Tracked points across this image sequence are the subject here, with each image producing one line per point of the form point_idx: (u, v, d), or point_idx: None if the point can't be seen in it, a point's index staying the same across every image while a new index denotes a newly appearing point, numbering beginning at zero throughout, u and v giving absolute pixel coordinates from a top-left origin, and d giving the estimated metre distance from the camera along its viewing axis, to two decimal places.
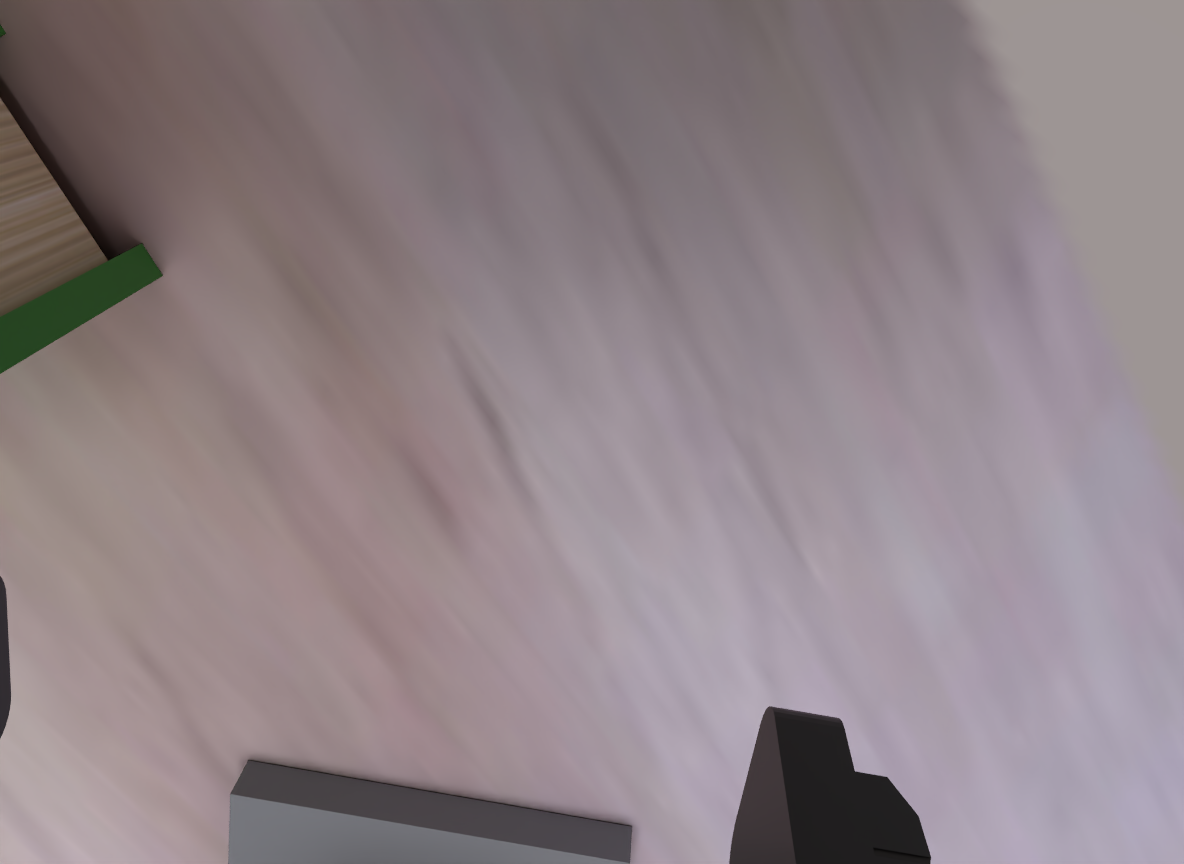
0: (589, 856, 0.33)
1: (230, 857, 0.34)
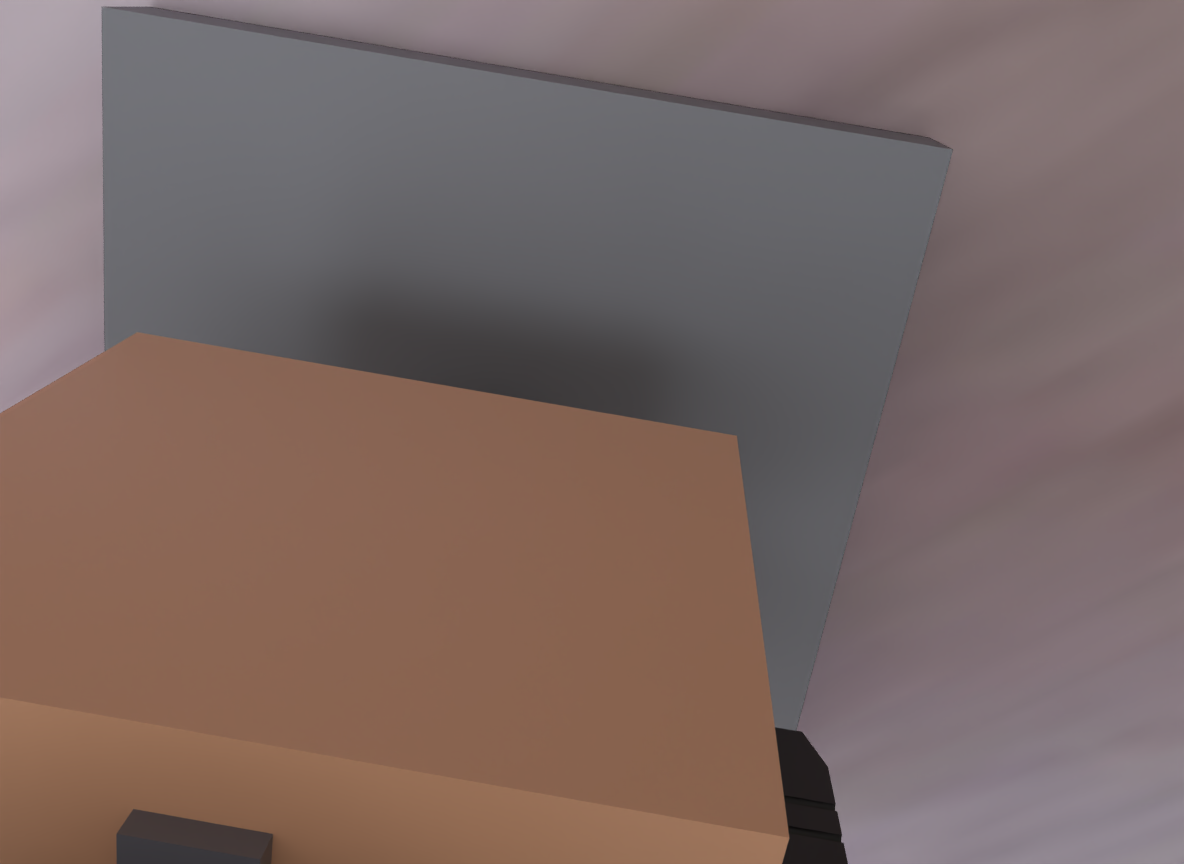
0: None
1: (774, 123, 0.15)
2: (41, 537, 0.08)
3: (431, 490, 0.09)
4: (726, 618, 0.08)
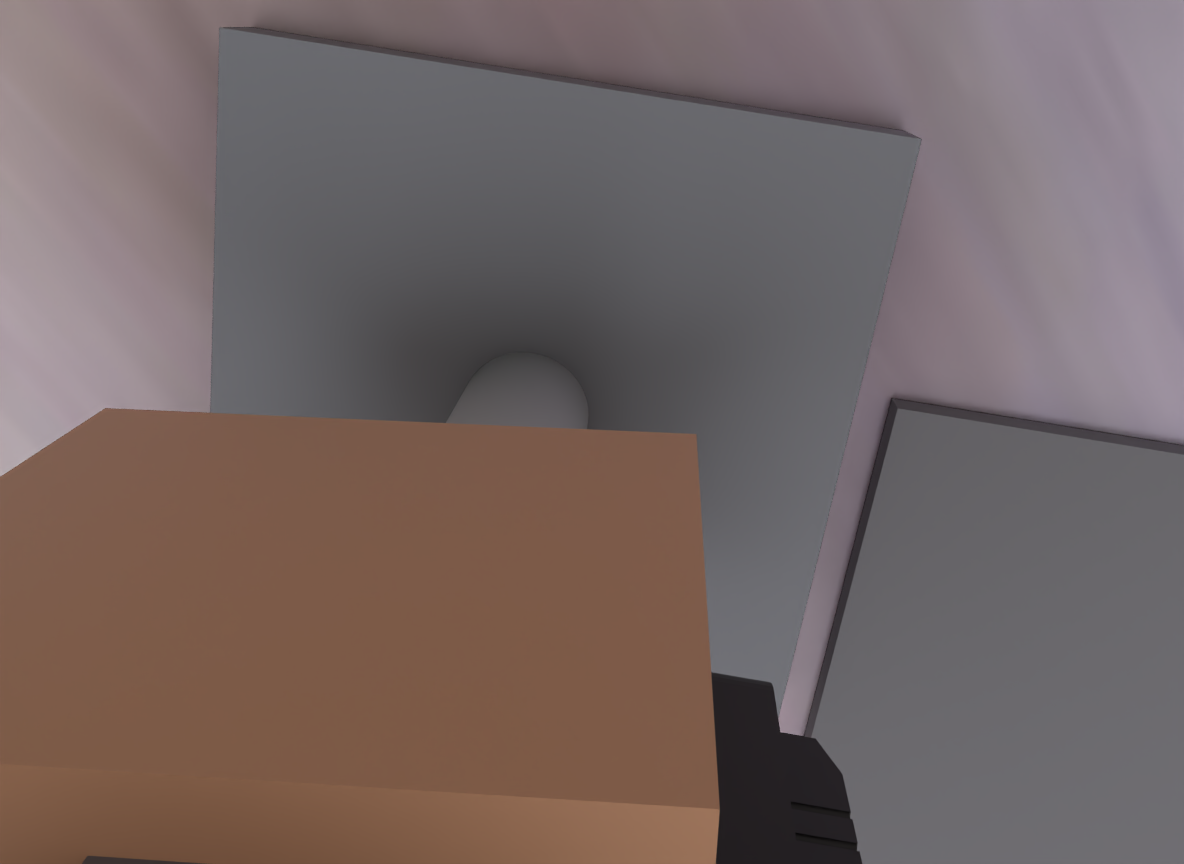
0: (850, 128, 0.18)
1: (219, 176, 0.20)
2: None
3: (384, 521, 0.09)
4: (672, 608, 0.08)
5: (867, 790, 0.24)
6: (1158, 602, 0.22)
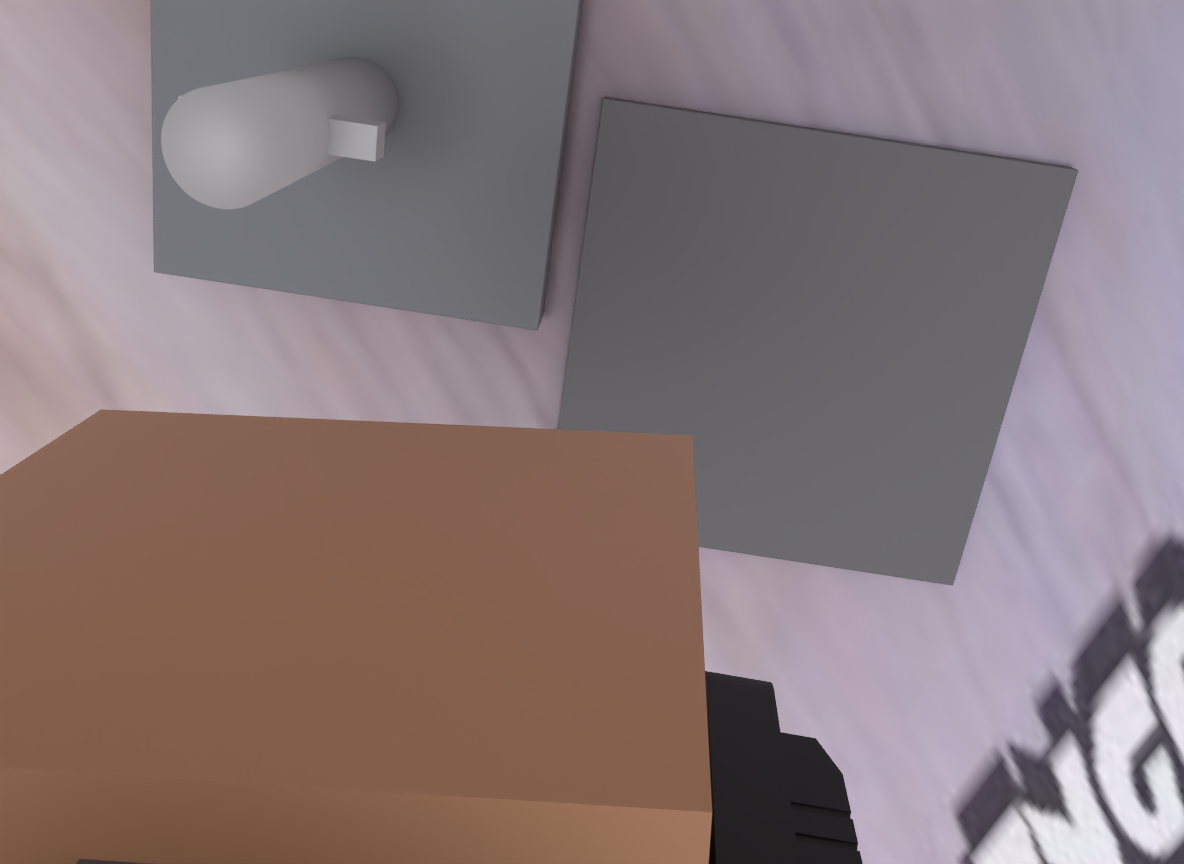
0: None
1: None
2: None
3: (379, 523, 0.09)
4: (666, 609, 0.08)
5: (610, 386, 0.35)
6: (786, 235, 0.33)
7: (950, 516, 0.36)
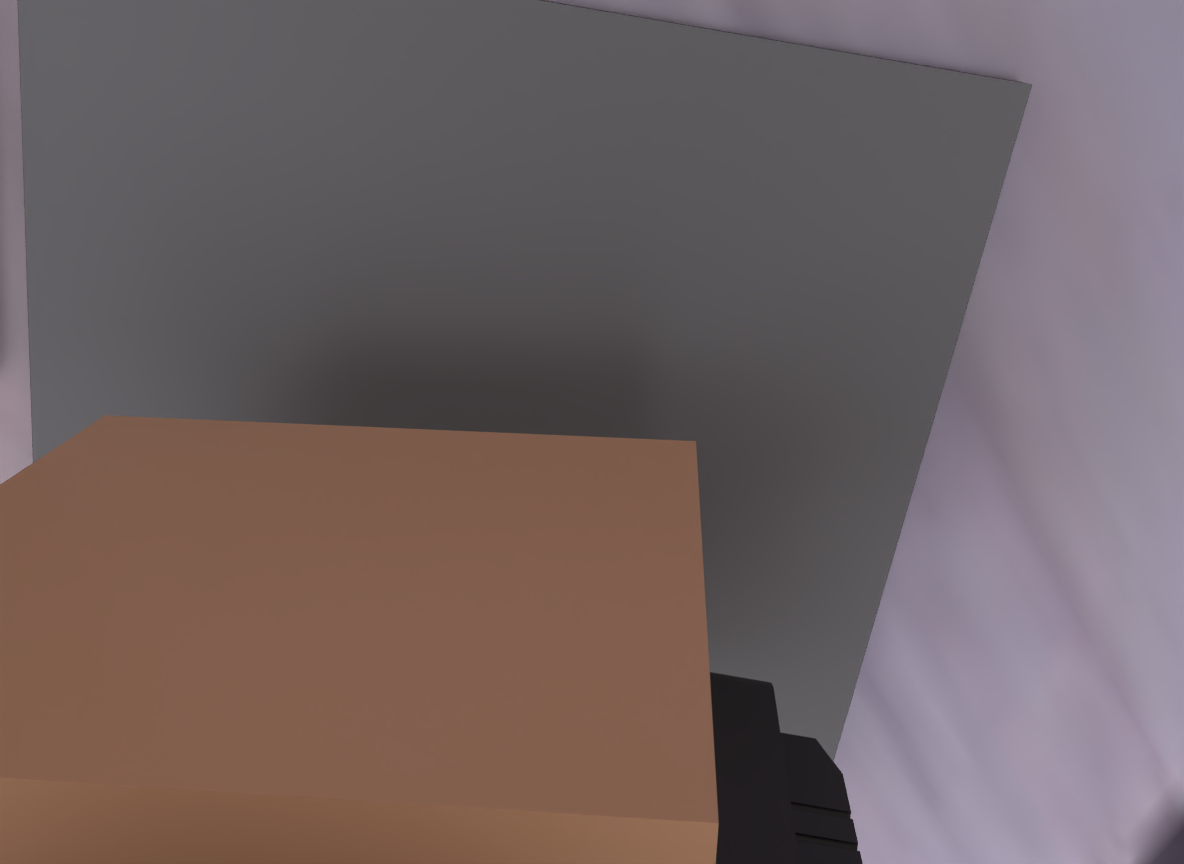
0: None
1: None
2: None
3: (383, 529, 0.09)
4: (671, 618, 0.08)
5: None
6: (431, 215, 0.16)
7: None
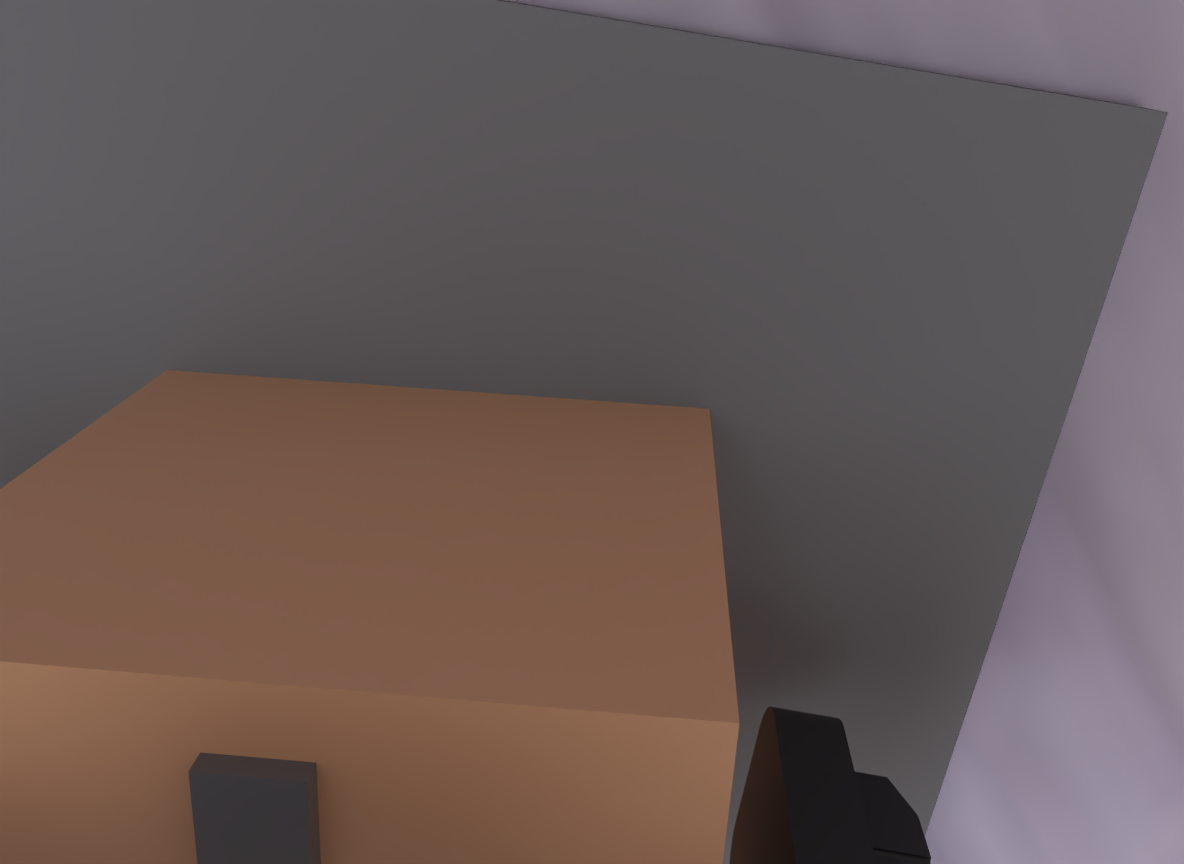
0: None
1: None
2: (102, 545, 0.09)
3: (434, 479, 0.10)
4: (693, 560, 0.09)
5: None
6: (376, 281, 0.12)
7: None
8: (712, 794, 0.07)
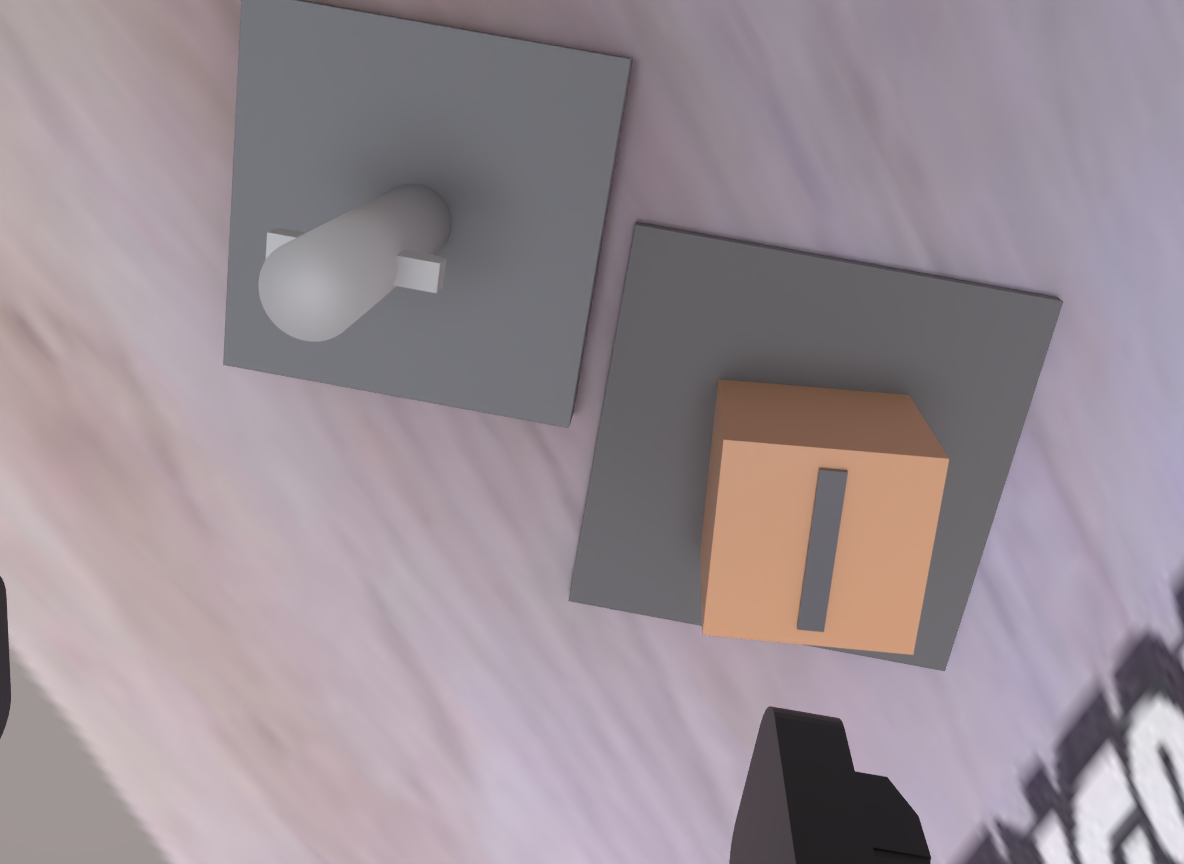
0: (591, 52, 0.33)
1: (239, 76, 0.34)
2: (767, 424, 0.33)
3: (837, 412, 0.35)
4: (924, 432, 0.33)
5: (633, 478, 0.39)
6: (797, 350, 0.37)
7: (943, 607, 0.39)
8: (941, 477, 0.31)
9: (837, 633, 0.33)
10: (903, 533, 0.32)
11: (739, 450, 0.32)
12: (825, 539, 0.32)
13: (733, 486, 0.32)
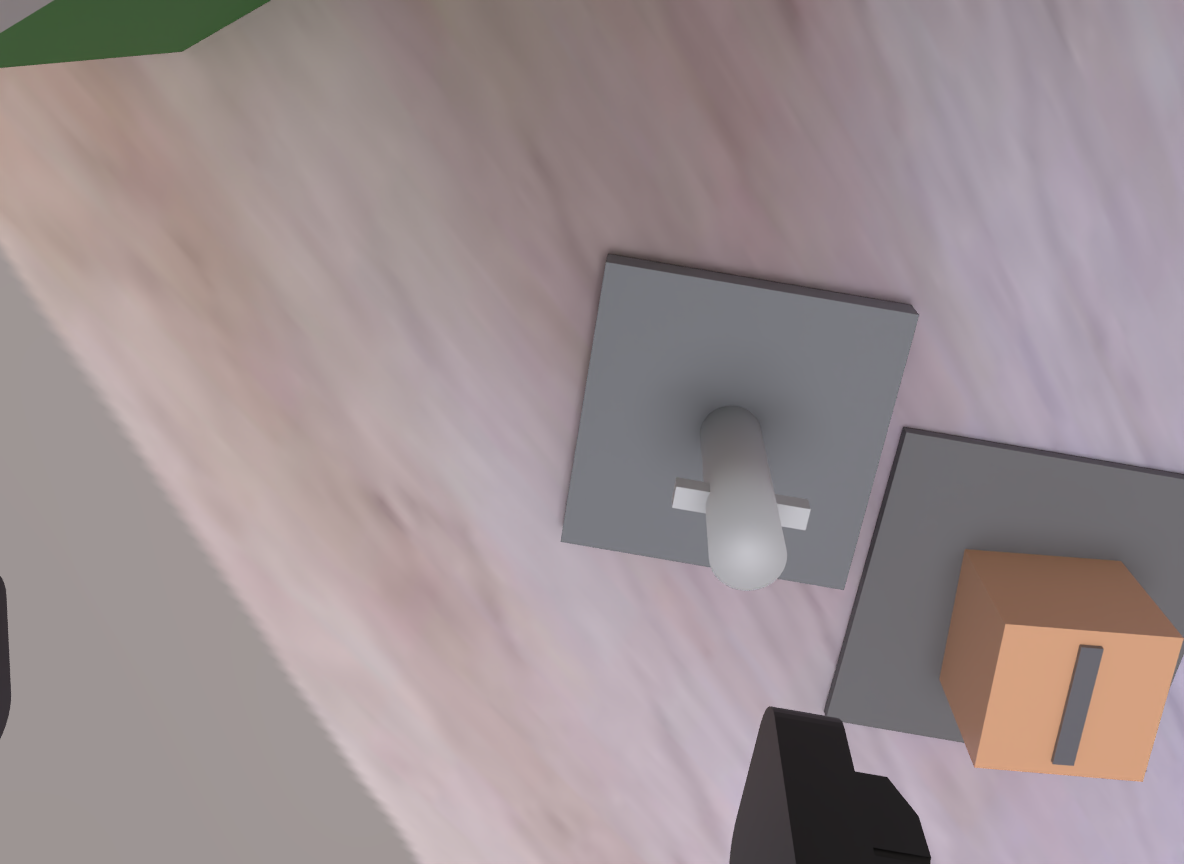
0: (887, 309, 0.42)
1: (597, 325, 0.43)
2: (1029, 603, 0.42)
3: (1075, 585, 0.43)
4: (1151, 606, 0.42)
5: (888, 624, 0.47)
6: (1032, 527, 0.45)
7: None
8: (1176, 651, 0.40)
9: (1083, 766, 0.42)
10: (1142, 692, 0.41)
11: (1017, 631, 0.40)
12: (1081, 697, 0.41)
13: (1010, 658, 0.41)
